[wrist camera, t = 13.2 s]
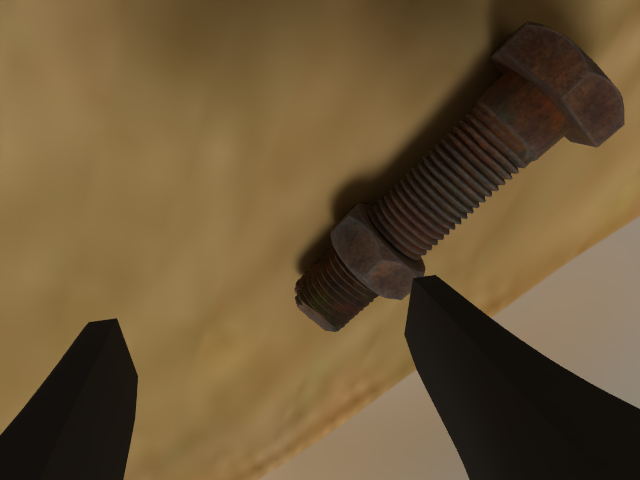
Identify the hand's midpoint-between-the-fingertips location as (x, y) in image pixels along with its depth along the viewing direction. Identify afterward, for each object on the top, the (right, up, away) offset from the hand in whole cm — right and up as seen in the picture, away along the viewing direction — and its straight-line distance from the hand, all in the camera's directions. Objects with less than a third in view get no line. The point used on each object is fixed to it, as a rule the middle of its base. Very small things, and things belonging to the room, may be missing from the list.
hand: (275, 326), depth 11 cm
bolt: (+5, +5, +11) cm, 13 cm away
